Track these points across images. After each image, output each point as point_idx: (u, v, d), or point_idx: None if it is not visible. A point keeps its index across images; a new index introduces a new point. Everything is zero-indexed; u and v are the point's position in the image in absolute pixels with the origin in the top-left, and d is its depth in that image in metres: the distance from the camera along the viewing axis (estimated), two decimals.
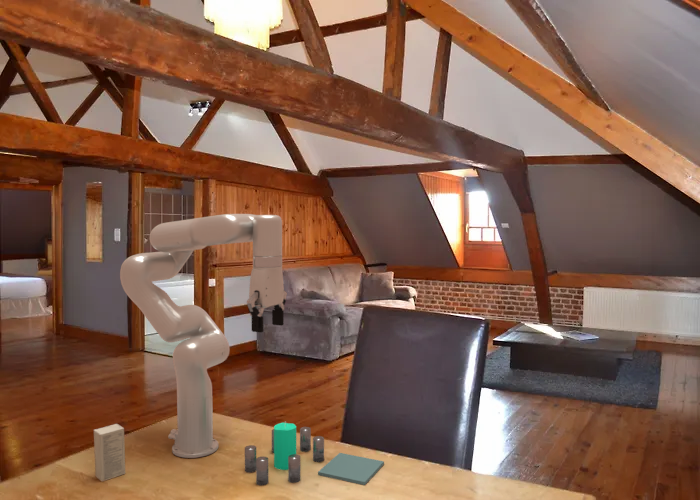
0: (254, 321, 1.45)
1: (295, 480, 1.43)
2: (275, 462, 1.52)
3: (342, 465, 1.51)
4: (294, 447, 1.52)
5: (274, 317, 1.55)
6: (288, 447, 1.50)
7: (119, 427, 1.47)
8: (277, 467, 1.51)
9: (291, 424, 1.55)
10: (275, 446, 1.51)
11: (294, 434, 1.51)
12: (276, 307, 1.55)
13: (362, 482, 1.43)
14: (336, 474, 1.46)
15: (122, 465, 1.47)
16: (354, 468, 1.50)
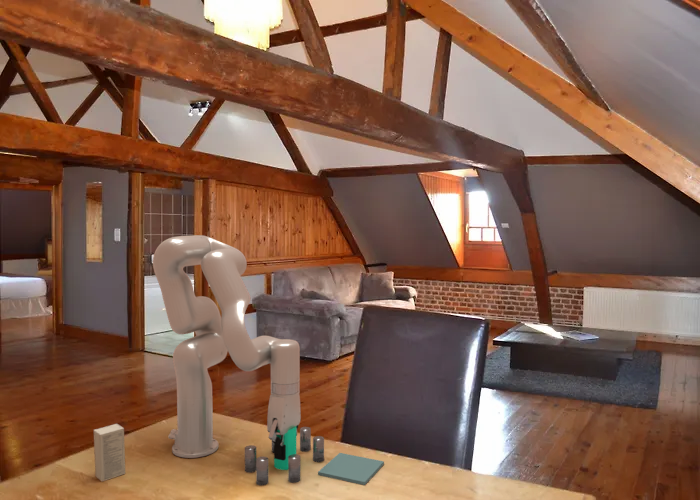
0: (277, 449, 1.50)
1: (295, 480, 1.43)
2: (275, 462, 1.52)
3: (342, 465, 1.51)
4: (294, 447, 1.52)
5: None
6: (288, 447, 1.50)
7: (119, 427, 1.47)
8: (277, 467, 1.51)
9: None
10: None
11: (294, 434, 1.51)
12: None
13: (362, 482, 1.43)
14: (336, 474, 1.46)
15: (122, 465, 1.47)
16: (354, 468, 1.50)
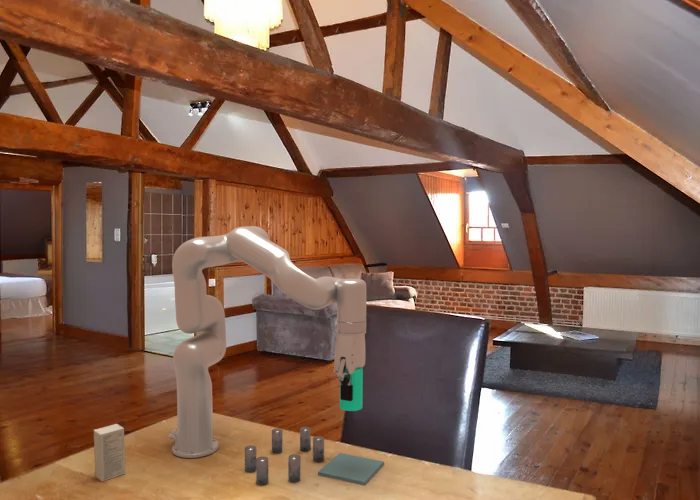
0: (344, 390, 1.46)
1: (295, 480, 1.43)
2: (341, 403, 1.48)
3: (342, 465, 1.51)
4: (361, 388, 1.48)
5: None
6: (355, 387, 1.47)
7: (119, 427, 1.47)
8: (344, 408, 1.47)
9: None
10: None
11: (361, 375, 1.48)
12: None
13: (362, 482, 1.43)
14: (336, 474, 1.46)
15: (122, 465, 1.47)
16: (354, 468, 1.50)
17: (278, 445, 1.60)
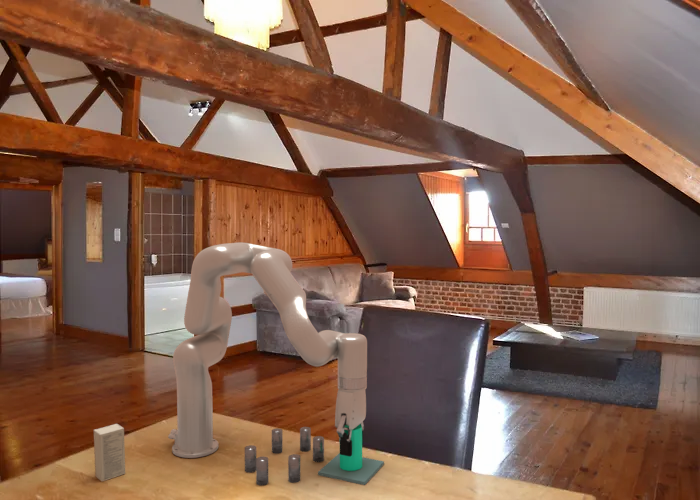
0: (343, 445, 1.46)
1: (295, 480, 1.43)
2: (341, 463, 1.49)
3: None
4: (360, 447, 1.49)
5: None
6: (355, 447, 1.48)
7: (119, 427, 1.47)
8: (344, 468, 1.49)
9: None
10: None
11: (360, 434, 1.49)
12: None
13: (362, 482, 1.43)
14: (336, 474, 1.46)
15: (122, 465, 1.47)
16: None
17: (278, 445, 1.60)
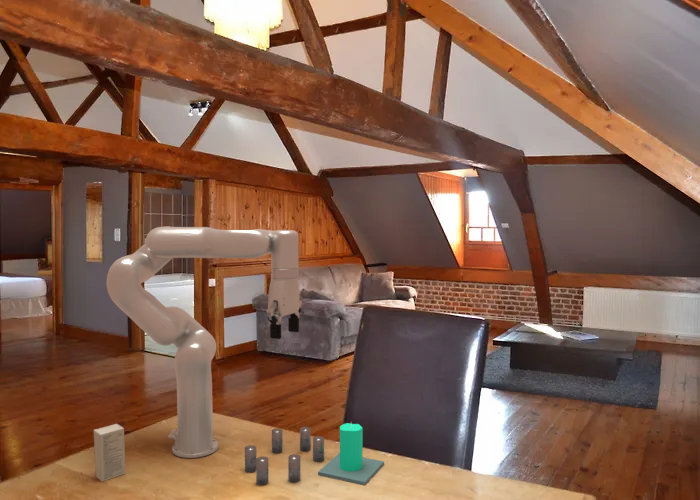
0: (273, 328, 1.57)
1: (295, 480, 1.43)
2: (341, 463, 1.49)
3: None
4: (361, 448, 1.49)
5: (290, 324, 1.67)
6: (355, 448, 1.48)
7: (119, 427, 1.47)
8: (344, 468, 1.49)
9: (356, 425, 1.52)
10: (342, 447, 1.49)
11: (361, 435, 1.49)
12: (292, 315, 1.67)
13: (362, 482, 1.43)
14: (336, 474, 1.46)
15: (122, 465, 1.47)
16: None
17: (278, 445, 1.60)
